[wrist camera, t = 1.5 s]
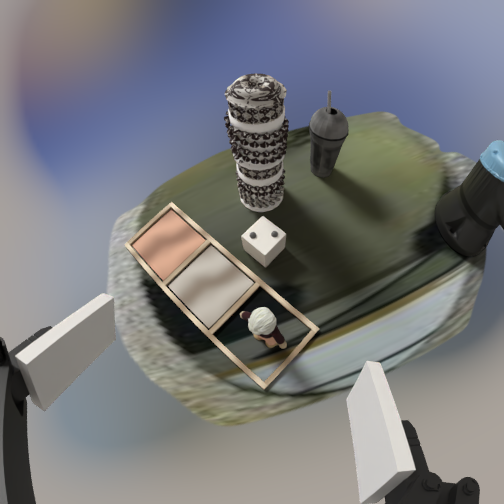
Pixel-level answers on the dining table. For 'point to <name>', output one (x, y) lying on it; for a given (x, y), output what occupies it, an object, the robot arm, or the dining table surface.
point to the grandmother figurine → (264, 327)
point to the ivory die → (264, 241)
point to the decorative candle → (258, 139)
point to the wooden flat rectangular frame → (202, 277)
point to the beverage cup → (326, 138)
